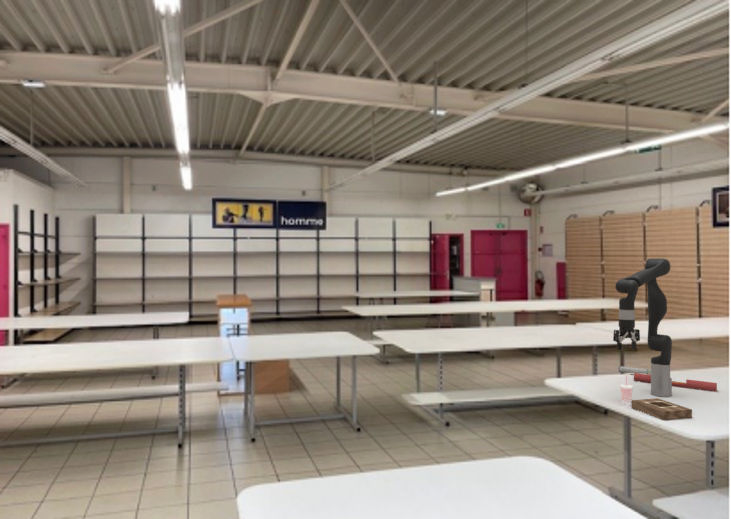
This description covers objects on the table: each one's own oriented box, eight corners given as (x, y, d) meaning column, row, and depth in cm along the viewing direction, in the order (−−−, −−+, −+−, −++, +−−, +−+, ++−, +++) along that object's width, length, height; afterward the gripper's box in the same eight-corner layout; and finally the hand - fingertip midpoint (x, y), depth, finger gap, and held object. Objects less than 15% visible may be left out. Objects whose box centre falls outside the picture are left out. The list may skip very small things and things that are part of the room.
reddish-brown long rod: (716, 391, 291) (716, 382, 291) (716, 392, 287) (716, 383, 287) (635, 380, 316) (635, 372, 316) (633, 381, 312) (633, 373, 312)
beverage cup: (635, 404, 261) (635, 377, 261) (626, 405, 259) (626, 378, 259) (626, 401, 266) (626, 374, 266) (617, 402, 265) (617, 375, 265)
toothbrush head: (622, 365, 341) (658, 367, 319) (623, 375, 340) (659, 378, 318) (617, 366, 338) (653, 368, 316) (618, 376, 338) (654, 379, 316)
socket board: (657, 406, 258) (657, 397, 258) (692, 418, 238) (692, 409, 238) (631, 408, 254) (631, 399, 254) (663, 420, 234) (663, 411, 235)
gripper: (632, 317, 268) (632, 348, 268) (609, 317, 265) (609, 348, 265) (643, 318, 261) (643, 350, 261) (620, 319, 257) (620, 351, 257)
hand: (626, 349), depth 263 cm, fingers open, 8 cm apart
